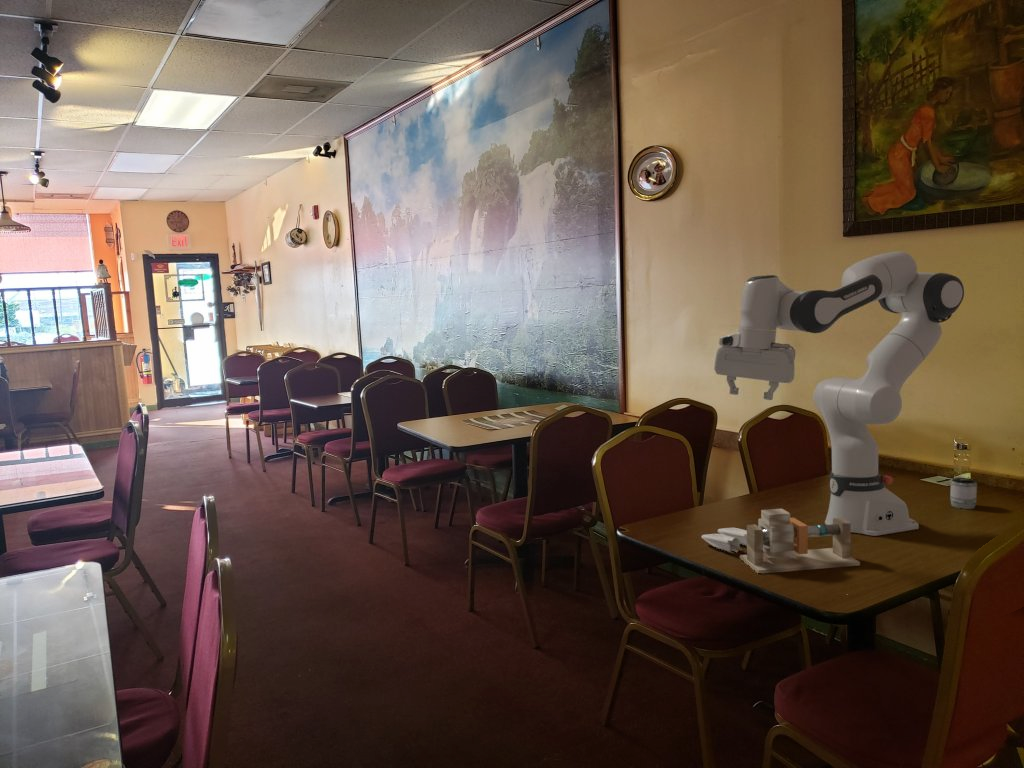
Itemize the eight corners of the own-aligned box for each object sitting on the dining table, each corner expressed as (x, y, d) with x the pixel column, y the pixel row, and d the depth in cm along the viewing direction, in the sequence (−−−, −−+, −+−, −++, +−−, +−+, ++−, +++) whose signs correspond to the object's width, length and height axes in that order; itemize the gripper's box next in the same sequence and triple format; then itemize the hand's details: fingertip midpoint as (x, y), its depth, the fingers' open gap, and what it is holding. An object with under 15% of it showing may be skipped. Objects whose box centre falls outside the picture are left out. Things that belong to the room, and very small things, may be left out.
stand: (835, 550, 173) (835, 514, 172) (860, 565, 163) (860, 526, 163) (739, 558, 171) (739, 521, 170) (758, 573, 161) (758, 534, 160)
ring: (793, 544, 170) (793, 517, 169) (807, 553, 164) (807, 525, 163) (785, 545, 170) (785, 518, 169) (799, 554, 164) (799, 526, 163)
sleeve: (778, 546, 170) (778, 506, 169) (793, 556, 163) (793, 515, 162) (758, 547, 170) (758, 508, 169) (772, 557, 163) (772, 516, 162)
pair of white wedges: (764, 547, 179) (731, 536, 188) (763, 530, 178) (730, 520, 188) (728, 557, 173) (696, 545, 183) (727, 540, 173) (695, 529, 182)
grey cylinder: (981, 509, 201) (982, 481, 200) (958, 509, 201) (959, 482, 200) (967, 503, 207) (968, 476, 207) (945, 503, 208) (946, 477, 207)
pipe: (834, 533, 169) (834, 522, 169) (840, 536, 166) (840, 525, 166) (756, 539, 167) (756, 528, 167) (761, 542, 164) (761, 531, 164)
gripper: (802, 344, 172) (796, 402, 173) (727, 338, 187) (722, 391, 188) (789, 344, 168) (782, 403, 169) (713, 337, 183) (708, 392, 184)
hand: (750, 397), depth 179 cm, fingers open, 8 cm apart
